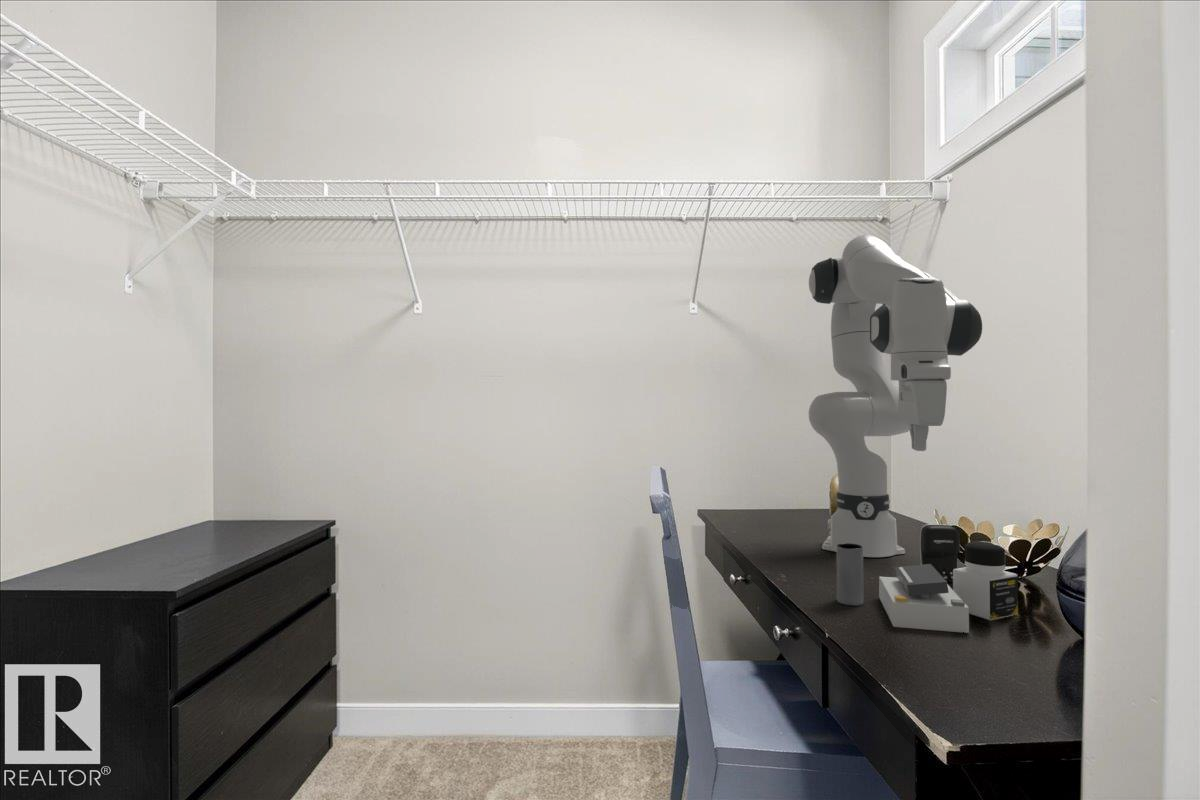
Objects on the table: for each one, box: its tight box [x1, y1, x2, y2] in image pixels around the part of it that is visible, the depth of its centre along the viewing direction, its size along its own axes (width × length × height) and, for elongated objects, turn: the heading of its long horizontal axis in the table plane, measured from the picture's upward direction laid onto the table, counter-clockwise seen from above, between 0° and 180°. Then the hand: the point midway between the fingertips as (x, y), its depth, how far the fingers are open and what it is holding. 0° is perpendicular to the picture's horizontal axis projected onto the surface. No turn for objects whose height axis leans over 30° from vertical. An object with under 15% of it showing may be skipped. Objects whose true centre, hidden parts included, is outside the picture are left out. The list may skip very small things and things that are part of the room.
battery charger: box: [919, 523, 961, 583], centre depth 132 cm, size 7×4×11 cm, turn 81°
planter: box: [836, 543, 864, 607], centre depth 118 cm, size 4×4×10 cm
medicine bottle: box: [952, 540, 1019, 621], centre depth 113 cm, size 7×7×12 cm
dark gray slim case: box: [894, 564, 949, 596], centre depth 112 cm, size 12×6×2 cm, turn 164°
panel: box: [878, 575, 970, 634], centre depth 112 cm, size 16×11×5 cm
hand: (918, 450), depth 112 cm, fingers closed
